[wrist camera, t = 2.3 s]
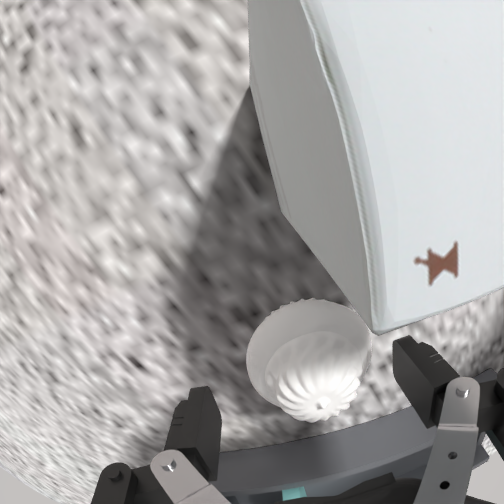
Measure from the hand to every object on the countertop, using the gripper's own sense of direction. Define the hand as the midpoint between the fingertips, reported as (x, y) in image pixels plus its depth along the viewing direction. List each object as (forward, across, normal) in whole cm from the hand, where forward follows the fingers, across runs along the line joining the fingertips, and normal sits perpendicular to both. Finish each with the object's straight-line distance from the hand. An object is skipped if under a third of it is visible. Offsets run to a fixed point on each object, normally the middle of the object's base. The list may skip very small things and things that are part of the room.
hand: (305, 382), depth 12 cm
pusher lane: (+5, -4, +15) cm, 17 cm away
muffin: (+6, -1, 0) cm, 6 cm away
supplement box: (+6, -4, -10) cm, 12 cm away
